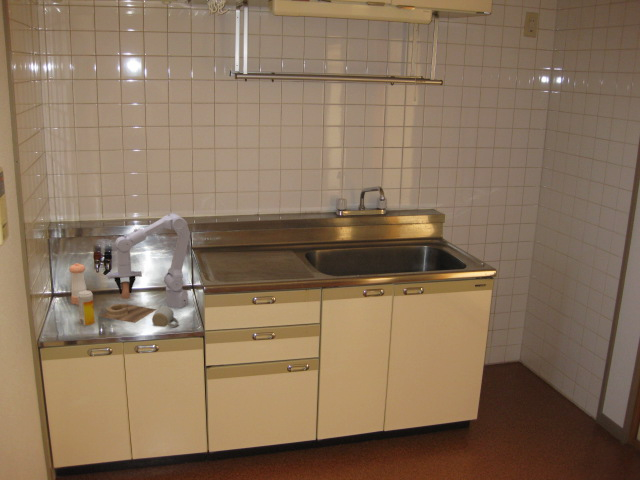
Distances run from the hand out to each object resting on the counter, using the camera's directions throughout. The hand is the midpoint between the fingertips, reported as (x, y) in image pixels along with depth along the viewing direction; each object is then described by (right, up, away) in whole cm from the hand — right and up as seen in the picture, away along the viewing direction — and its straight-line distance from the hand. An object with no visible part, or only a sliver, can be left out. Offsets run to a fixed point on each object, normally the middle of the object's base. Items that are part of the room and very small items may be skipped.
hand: (125, 292), depth 295 cm
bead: (-4, -10, 0) cm, 10 cm away
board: (+1, -10, +2) cm, 11 cm away
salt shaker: (-27, -6, +17) cm, 32 cm away
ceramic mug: (+20, -14, -7) cm, 25 cm away
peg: (0, -2, +1) cm, 2 cm away
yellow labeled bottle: (-14, -13, -9) cm, 21 cm away
